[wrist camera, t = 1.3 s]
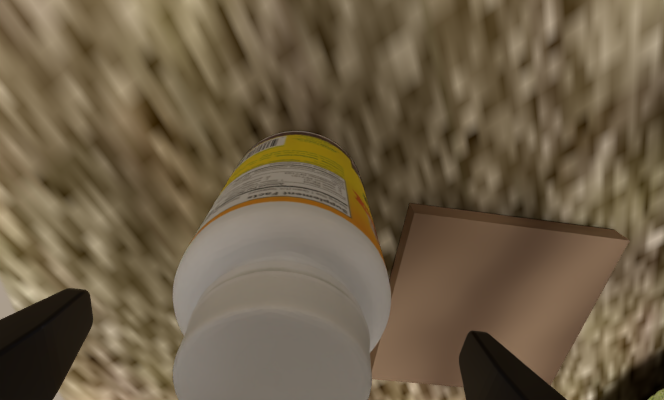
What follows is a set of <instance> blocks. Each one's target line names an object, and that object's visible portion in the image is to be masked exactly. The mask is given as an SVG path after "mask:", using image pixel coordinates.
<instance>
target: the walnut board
mask: <svg viewBox="0 0 664 400" xmlns="http://www.w3.org/2000/svg"><path fill="white" fill-rule="evenodd" d="M629 241H630V240H628V239H627V238H625V237H624V236H622V235H621V234H620V233H618V232H617V231H615V230H612V229H604V228H596V227H589V226H581V225H573V224H566V223H558V222H551V221H543V220H535V219H528V218H520V217H512V216H505V215H497V214H489V213H482V212H474V211H466V210H459V209H451V208H444V207H436V206H428V205H421V204H413V203H409V207H408V211H407V215H406V219H405V223H404V226H403V230H402V234H401V238H400V242H399V246H398V249H397V253H396V257H395V261H394V265H393V269H392V272H391V276H390V280H389V283H390V289H391V308H390V314H389V319H388V322H387V325H386V327H385V330H384V332H383V334H382V336H381V338H380V340H379V341H378V343H377V345H376V346H375V347H374V349H373V350H372V351H371V353H370V361H371V371H372V379H378V380H389V381H401V382H412V383H423V384H434V385H445V386H456V387H464V386H463V382H462V377H461V372H460V367H459V354H460V352H461V349H462V346H463V344H464V341H465V339H466V336H467V334H468V333H469V332H470V331H483V332H487V333H488V334H490V335H491V336H492V337H493V338H495V339H496V340H497V341H498V342H499V343H500V344H502V345H503V346H504V347H505V348H506V349H508V350H509V351H510V352H511V353H512V354H513V355H515V356H516V357H517V358H518V359H519V360H521V361H522V362H523V363H524V364H525V365H526V366H528V367H529V368H530V369H531V370H532V371H534V372H535V373H536V374H537V375H538V376H539V377H541V378H542V379H543V380H544V381H545V382H547V383H548V384H549V385H551V383H552V382H553V380H554V378H555V376H556V374H557V373H558V371H559V369H560V367H561V365H562V363H563V362H564V360H565V358H566V356H567V354H568V352H569V351H570V349H571V347H572V345H573V343H574V342H575V340H576V338H577V336H578V334H579V332H580V331H581V329H582V327H583V325H584V323H585V321H586V320H587V318H588V316H589V314H590V312H591V311H592V309H593V307H594V305H595V303H596V301H597V300H598V298H599V296H600V294H601V292H602V290H603V289H604V287H605V285H606V283H607V281H608V280H609V278H610V276H611V274H612V272H613V270H614V269H615V267H616V265H617V263H618V261H619V259H620V258H621V256H622V254H623V252H624V250H625V249H626V247H627V245H628V243H629Z"/></svg>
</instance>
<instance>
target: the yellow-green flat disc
mask: <svg viewBox="0 0 664 400" xmlns="http://www.w3.org/2000/svg"><path fill="white" fill-rule="evenodd" d="M648 400H664V389H662V390H660V391H658V392H657V393H656V394H655V395H653V396H651V397H650V398H649V399H648Z"/></svg>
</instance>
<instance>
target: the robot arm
mask: <svg viewBox="0 0 664 400" xmlns="http://www.w3.org/2000/svg"><path fill="white" fill-rule="evenodd" d="M92 323H93V314H92V306H91V299H90V294H89V292H88V291H87V290H83V289H74V288H68V289H65V290H63V291H61V292H58V293H56V294H54V295H52V296H50V297H48V298H46V299H44V300H41V301H39V302H37V303H35V304H33V305H31V306H29V307H26V308H24V309H22V310H20V311H18V312H16V313H14V314H12V315H9V316H7V317H5V318H3V319H1V320H0V400H53V398H54V397H55V395H56V393H57V392H58V390H59V388H60V386H61V385H62V383H63V381H64V379H65V377H66V375H67V373H68V371H69V369H70V368H71V366H72V364H73V362H74V360H75V358H76V356H77V354H78V352H79V350H80V348H81V346H82V344H83V342H84V341H85V339H86V337H87V335H88V333H89V331H90V329H91V326H92ZM459 367H460V372H461V377H462V382H463V386H464V391H465V396H466V400H567V399H565V398H564V397H563V396H562V395H561V394H560V393H558V392H557V391H556V390H555V389H554V388H552V387H551V386H550V385H549V384H548V383H547V382H545V381H544V380H543V379H542V378H541V377H539V376H538V375H537V374H536V373H535V372H534V371H532V370H531V369H530V368H529V367H528V366H526V365H525V364H524V363H523V362H522V361H521V360H519V359H518V358H517V357H516V356H515V355H513V354H512V353H511V352H510V351H509V350H508V349H506V348H505V347H504V346H503V345H502V344H500V343H499V342H498V341H497V340H496V339H495V338H493V337H492V336H491V335H490V334H488V333H487V332H483V331H470V332H469V333H468V334H467V336H466V339H465V341H464V344H463V346H462V349H461V352H460V354H459Z"/></svg>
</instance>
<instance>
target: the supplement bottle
mask: <svg viewBox="0 0 664 400" xmlns="http://www.w3.org/2000/svg"><path fill="white" fill-rule="evenodd" d="M173 305H174V311H175V315H176V319H177V322H178V325H179V327H180V329H181V332H182V333H183V335H184V338H183V340H182V343H181V345H180V347H179V349H178V352H177V355H176V357H175V361H174V367H173V382H174V387H175V392H176V395H177V397H178V399H179V400H368V398H369V394H370V390H371V384H372V371H371V361H370V352H371V351H372V350H373V349H374V347H375V346H376V345H377V343H378V341H379V340H380V338H381V336H382V334H383V332H384V330H385V327H386V325H387V322H388V319H389V314H390V308H391V289H390V283H389V278H388V273H387V269H386V266H385V262H384V258H383V255H382V251H381V248H380V244H379V241H378V237H377V234H376V230H375V227H374V223H373V219H372V216H371V212H370V209H369V205H368V202H367V198H366V194H365V191H364V187H363V183H362V180H361V177H360V175H359V172H358V170H357V167H356V165H355V164H354V162H353V160H352V159H351V158H350V156H349V155H348V154H347V153H346V152H345V151H344V150H343V149H342V148H341V147H340V146H339V145H337V144H336V143H335V142H333V141H331V140H330V139H328V138H326V137H324V136H321V135H318V134H315V133H311V132H305V131H288V132H282V133H278V134H275V135H272V136H269V137H267V138H265V139H263V140H261V141H260V142H258V143H257V144H256V145H254V146H253V147H252V148H251V149H250V150H249V151H248V152H247V153H246V154H245V156H244V157H243V158H242V160H241V161H240V162H239V164H238V166H237V167H236V169H235V170H234V172H233V173H232V175H231V176H230V178H229V180H228V182H227V183H226V185H225V187H224V188H223V189H222V191H221V193H220V195H219V196H218V198H217V200H216V201H215V203H214V205H213V206H212V208H211V210H210V211H209V213H208V214H207V216H206V218H205V219H204V221H203V223H202V224H201V226H200V227H199V229H198V231H197V232H196V234H195V236H194V238H193V239H192V241H191V242H190V244H189V246H188V247H187V249H186V251H185V253H184V255H183V257H182V259H181V261H180V263H179V266H178V269H177V272H176V275H175V279H174V285H173Z"/></svg>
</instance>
